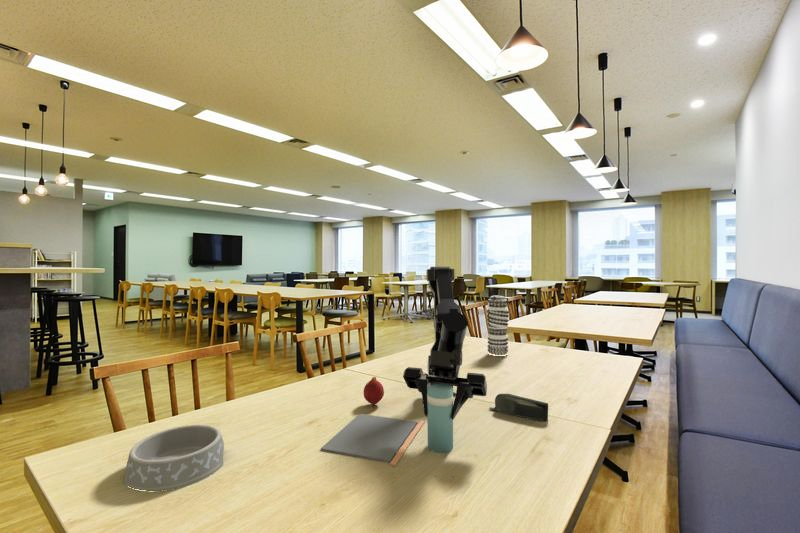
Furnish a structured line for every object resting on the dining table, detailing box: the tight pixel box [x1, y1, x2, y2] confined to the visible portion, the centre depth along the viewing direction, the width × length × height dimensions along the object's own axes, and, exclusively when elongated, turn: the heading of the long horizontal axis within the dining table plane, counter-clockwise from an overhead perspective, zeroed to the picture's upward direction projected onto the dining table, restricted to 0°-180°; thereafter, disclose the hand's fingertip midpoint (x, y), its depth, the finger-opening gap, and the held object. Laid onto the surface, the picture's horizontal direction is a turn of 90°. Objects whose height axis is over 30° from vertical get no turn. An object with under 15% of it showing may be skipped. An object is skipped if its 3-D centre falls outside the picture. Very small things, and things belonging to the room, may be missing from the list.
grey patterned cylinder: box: [486, 295, 509, 355], centre depth 169 cm, size 9×9×25 cm
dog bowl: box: [124, 424, 225, 492], centre depth 80 cm, size 17×18×5 cm
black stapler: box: [489, 393, 549, 422], centre depth 104 cm, size 5×3×15 cm
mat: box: [320, 413, 419, 463], centre depth 93 cm, size 16×20×1 cm
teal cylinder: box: [427, 384, 454, 454], centre depth 87 cm, size 6×6×13 cm
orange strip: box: [389, 420, 425, 467], centre depth 90 cm, size 22×1×1 cm, turn 161°
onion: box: [363, 376, 385, 406], centre depth 112 cm, size 6×6×8 cm
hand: (438, 417), depth 86 cm, fingers closed on teal cylinder, 6 cm apart
